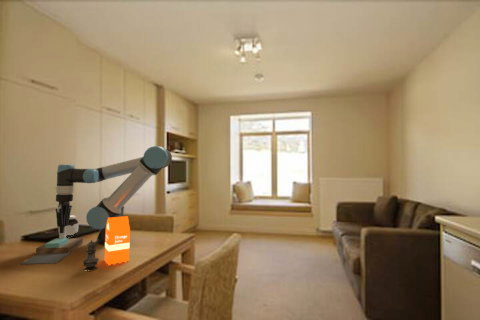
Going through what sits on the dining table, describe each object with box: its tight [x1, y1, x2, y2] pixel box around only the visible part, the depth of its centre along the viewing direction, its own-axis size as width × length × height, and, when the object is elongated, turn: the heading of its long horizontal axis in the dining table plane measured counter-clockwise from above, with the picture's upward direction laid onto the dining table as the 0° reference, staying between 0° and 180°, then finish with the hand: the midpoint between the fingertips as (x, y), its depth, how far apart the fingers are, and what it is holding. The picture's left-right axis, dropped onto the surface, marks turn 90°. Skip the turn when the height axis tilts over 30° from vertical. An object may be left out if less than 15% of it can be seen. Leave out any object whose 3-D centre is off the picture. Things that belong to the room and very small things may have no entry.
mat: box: [20, 252, 71, 266], centre depth 125 cm, size 14×14×1 cm
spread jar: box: [58, 214, 80, 236], centre depth 168 cm, size 12×11×12 cm
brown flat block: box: [35, 237, 84, 255], centre depth 141 cm, size 14×18×3 cm
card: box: [44, 237, 69, 248], centre depth 138 cm, size 6×10×2 cm, turn 9°
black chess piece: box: [82, 239, 99, 272], centre depth 114 cm, size 6×6×12 cm
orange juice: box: [104, 215, 131, 266], centre depth 124 cm, size 8×9×20 cm
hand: (62, 238), depth 143 cm, fingers closed
